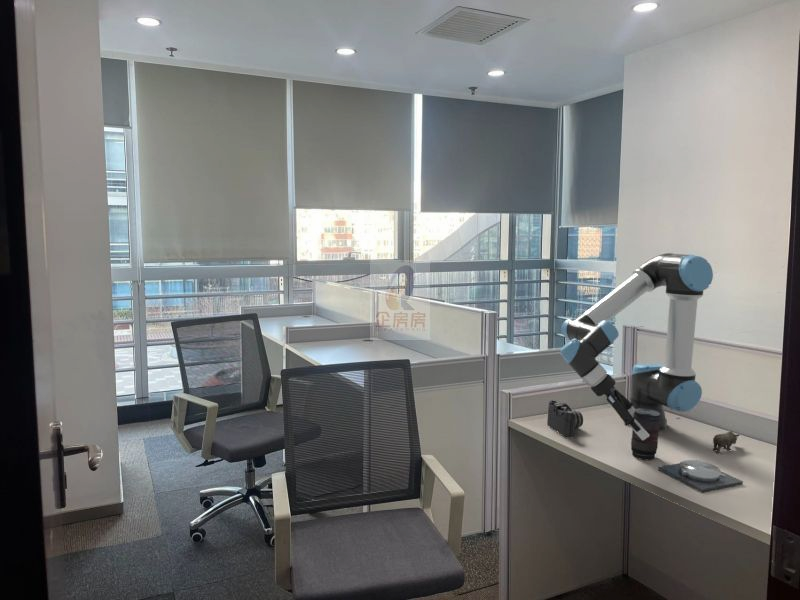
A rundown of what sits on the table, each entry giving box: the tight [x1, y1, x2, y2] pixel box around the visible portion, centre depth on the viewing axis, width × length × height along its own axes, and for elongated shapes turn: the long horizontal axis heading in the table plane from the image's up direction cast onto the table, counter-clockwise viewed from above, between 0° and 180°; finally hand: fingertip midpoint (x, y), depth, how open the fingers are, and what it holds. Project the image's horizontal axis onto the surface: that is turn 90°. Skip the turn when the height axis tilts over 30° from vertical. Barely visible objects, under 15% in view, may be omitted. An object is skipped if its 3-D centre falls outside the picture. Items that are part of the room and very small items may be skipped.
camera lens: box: [630, 408, 661, 461], centre depth 189 cm, size 8×8×15 cm
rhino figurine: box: [712, 430, 740, 454], centre depth 197 cm, size 4×14×6 cm, turn 122°
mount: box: [657, 459, 744, 494], centre depth 175 cm, size 16×16×3 cm
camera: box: [546, 399, 584, 438], centre depth 212 cm, size 14×11×10 cm
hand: (644, 430), depth 188 cm, fingers open, 13 cm apart
